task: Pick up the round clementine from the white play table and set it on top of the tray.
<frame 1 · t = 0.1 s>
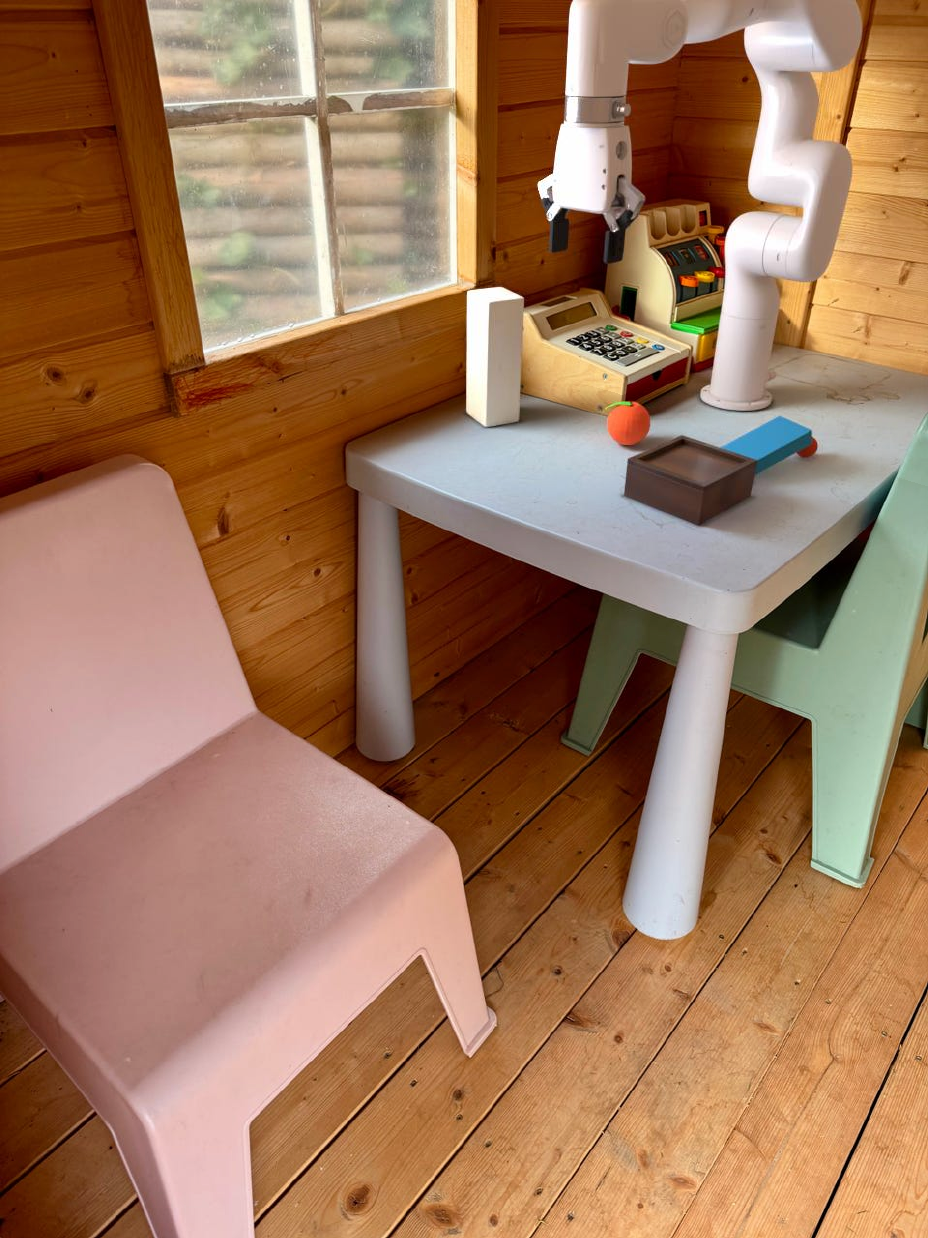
hand: (585, 256, 123), 31 cm above the table, tool pointing down, fingers open, 9 cm apart
tall white pillar block: (494, 418, 159), on the table
lever: (766, 466, 141), on the table
clementine: (623, 444, 149), on the table
tray: (687, 496, 132), on the table
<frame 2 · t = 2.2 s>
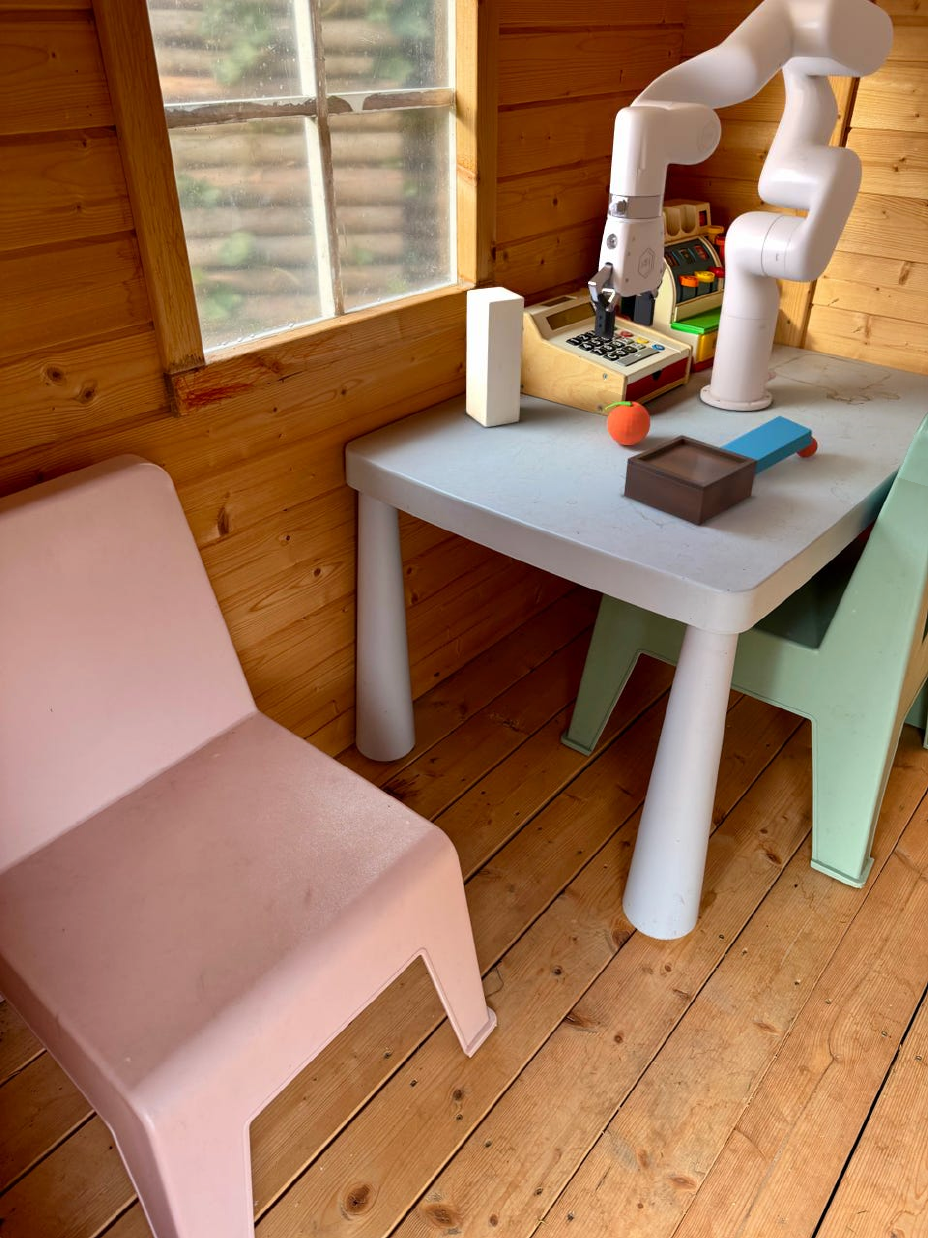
hand: (623, 330, 137), 19 cm above the table, tool pointing down, fingers open, 9 cm apart
nothing on the table moved.
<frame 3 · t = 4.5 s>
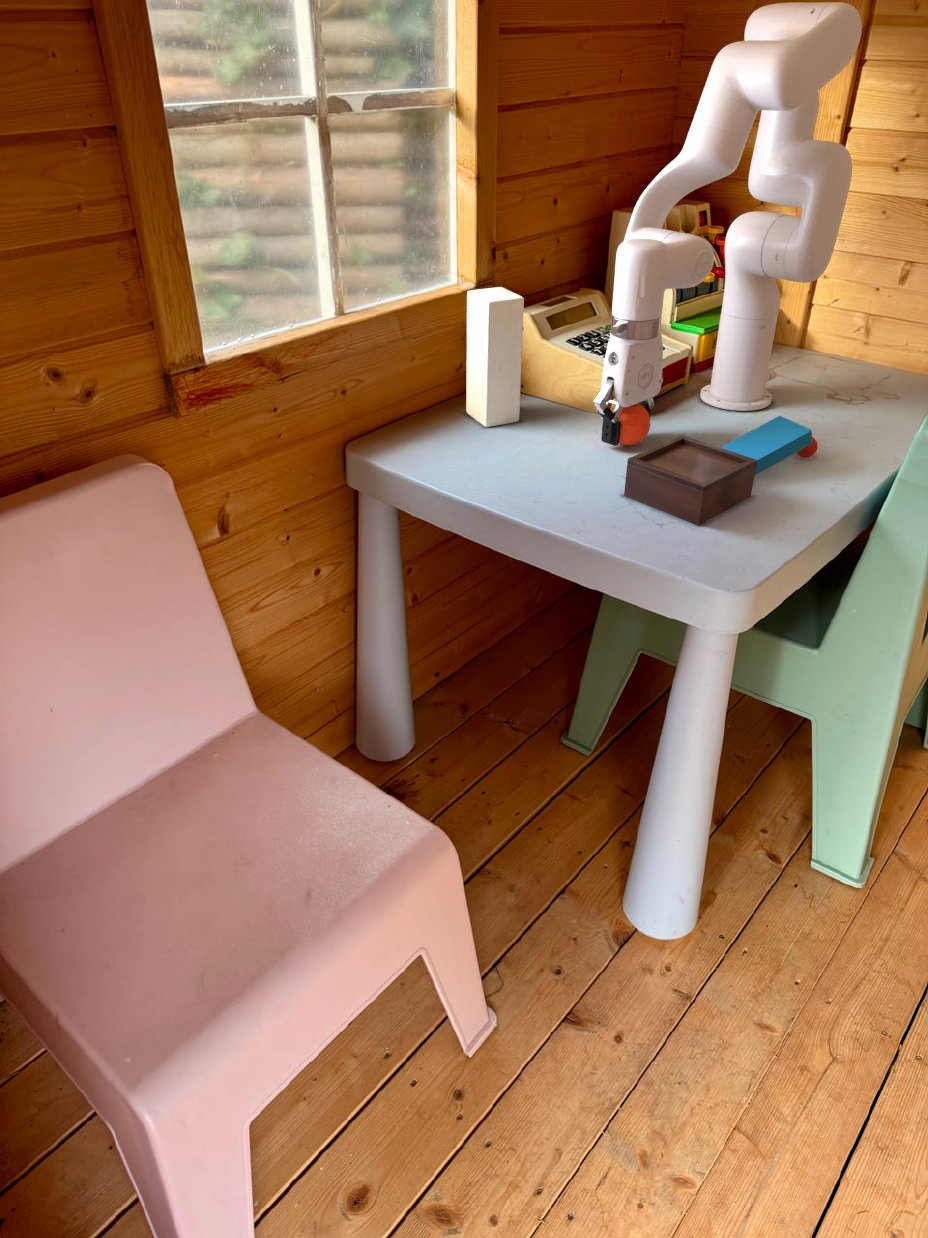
hand: (625, 436, 148), 1 cm above the table, tool pointing down, fingers closed on clementine, 7 cm apart
clementine: (623, 444, 149), on the table, touching gripper
everything else where it was.
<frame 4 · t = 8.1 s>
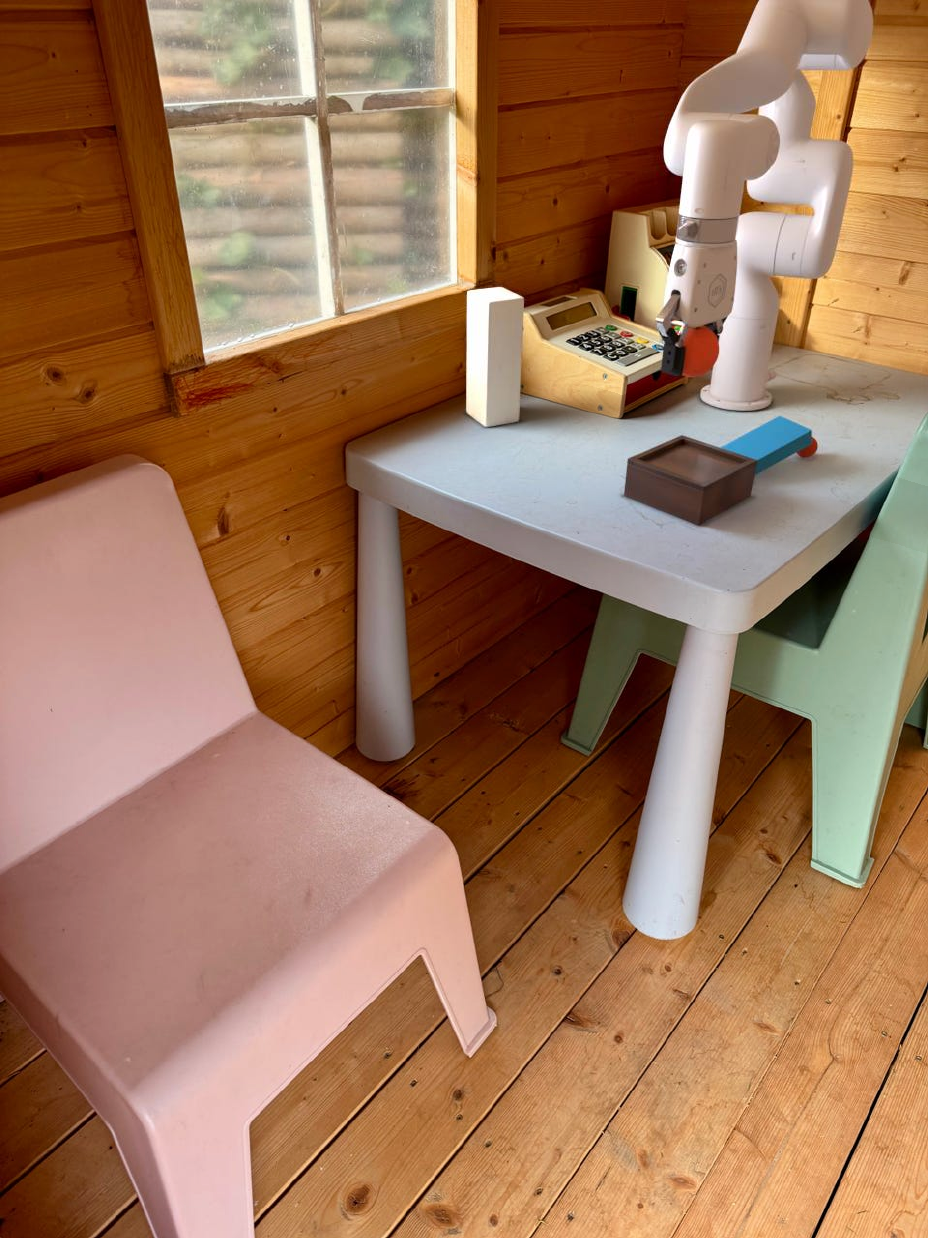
hand: (688, 366, 126), 18 cm above the table, tool pointing down, fingers closed on clementine, 7 cm apart
clementine: (685, 376, 126), point 16 cm above the table, touching gripper
everything else where it was.
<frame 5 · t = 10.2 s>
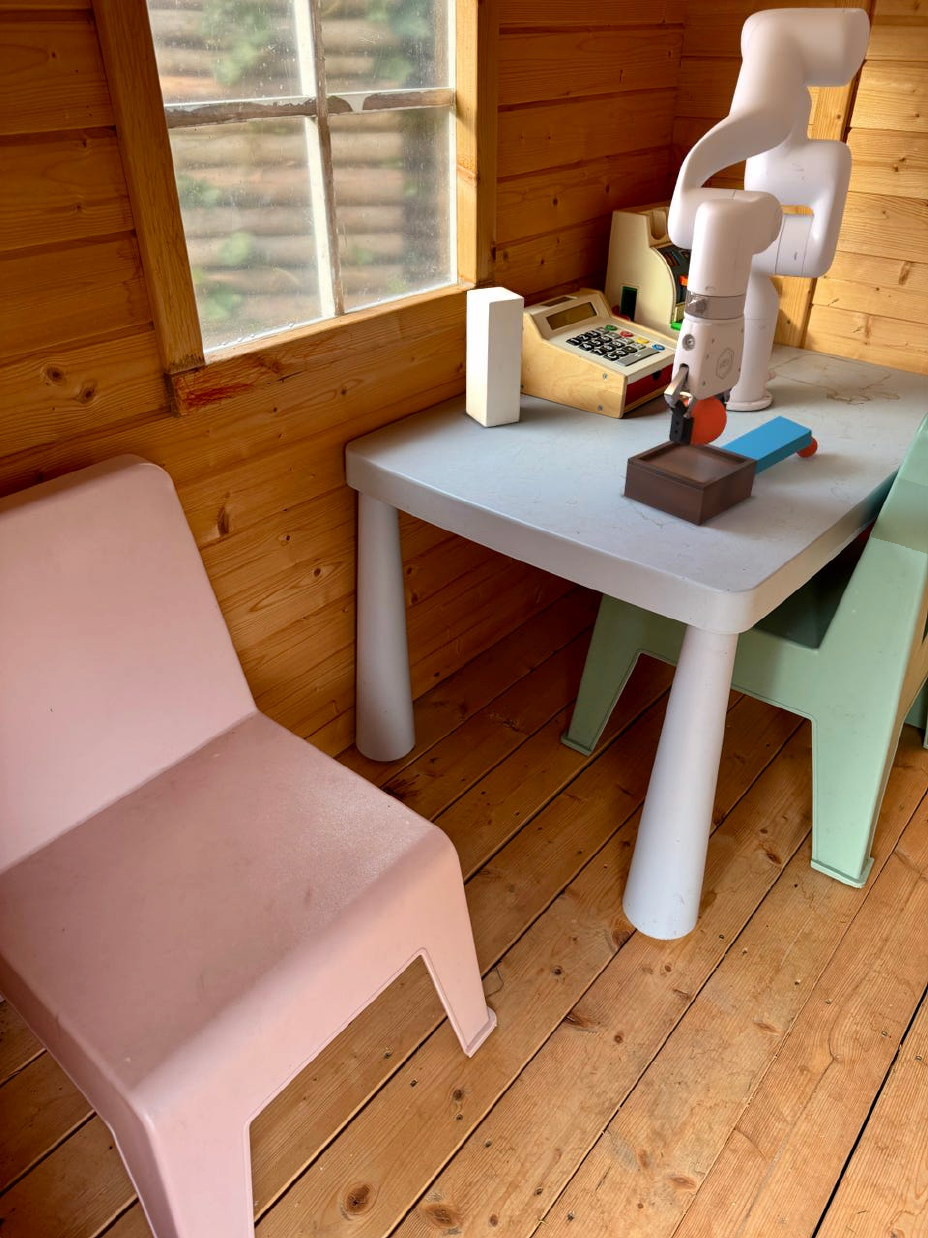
hand: (696, 434, 127), 10 cm above the table, tool pointing down, fingers closed on clementine, 7 cm apart
clementine: (693, 444, 127), point 8 cm above the table, touching gripper
everything else where it was.
when the fingers open (6 cm above the table, at t = 11.7 s): clementine stays where it is, resting on tray.
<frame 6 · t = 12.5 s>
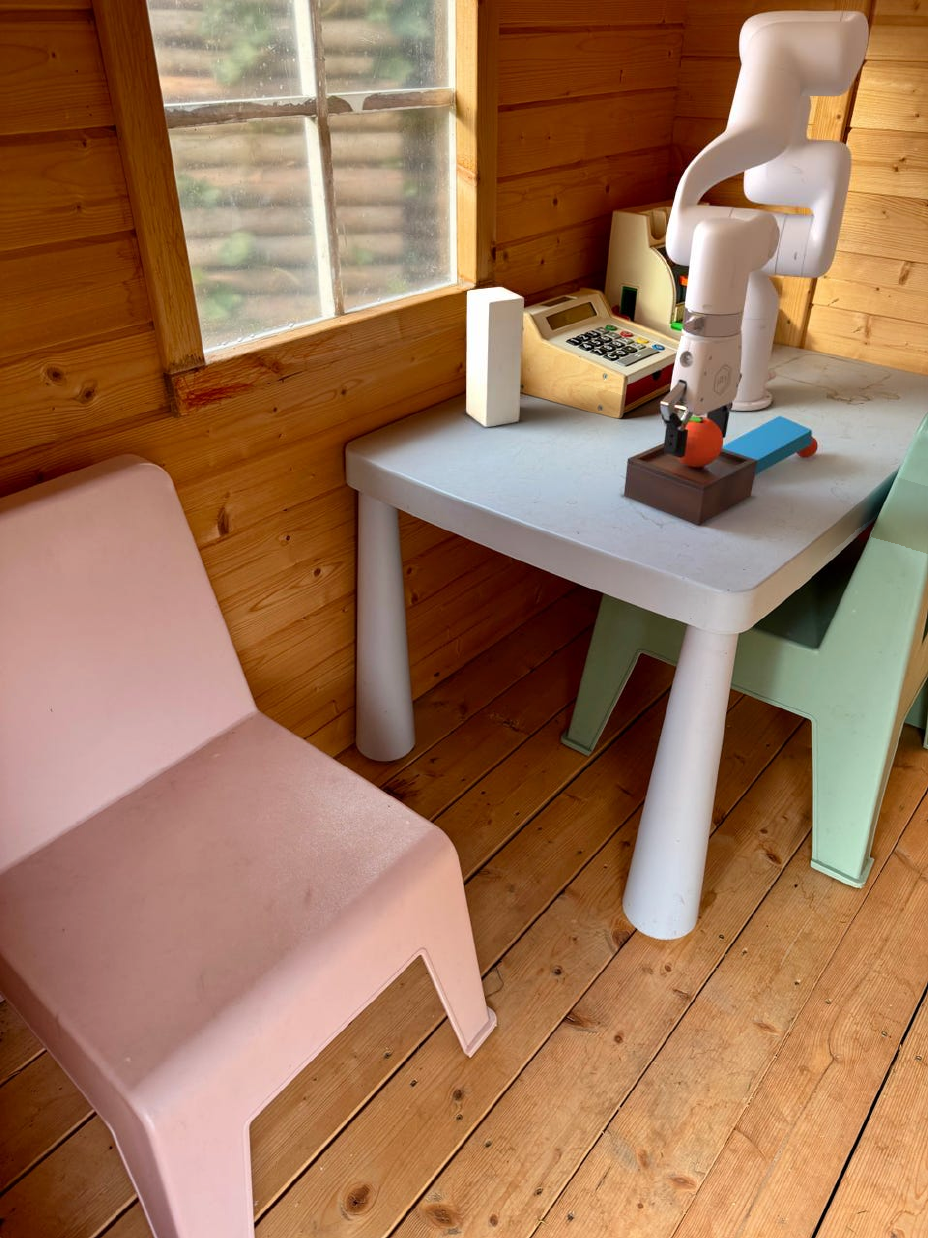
hand: (694, 445, 128), 8 cm above the table, tool pointing down, fingers open, 9 cm apart
clementine: (690, 466, 129), point 5 cm above the table, touching tray
everything else where it was.
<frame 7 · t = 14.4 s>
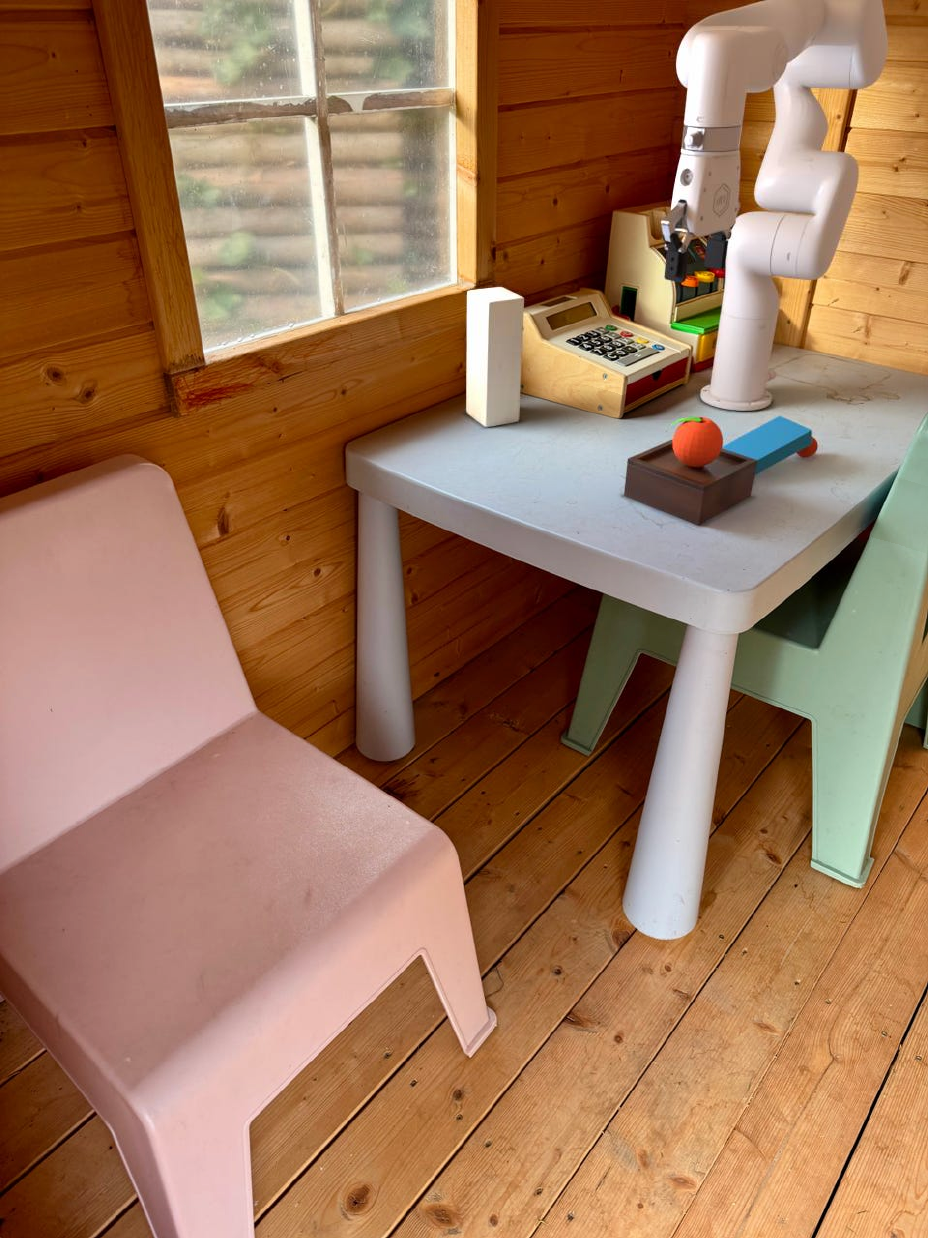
hand: (694, 274, 130), 27 cm above the table, tool pointing down, fingers open, 9 cm apart
nothing on the table moved.
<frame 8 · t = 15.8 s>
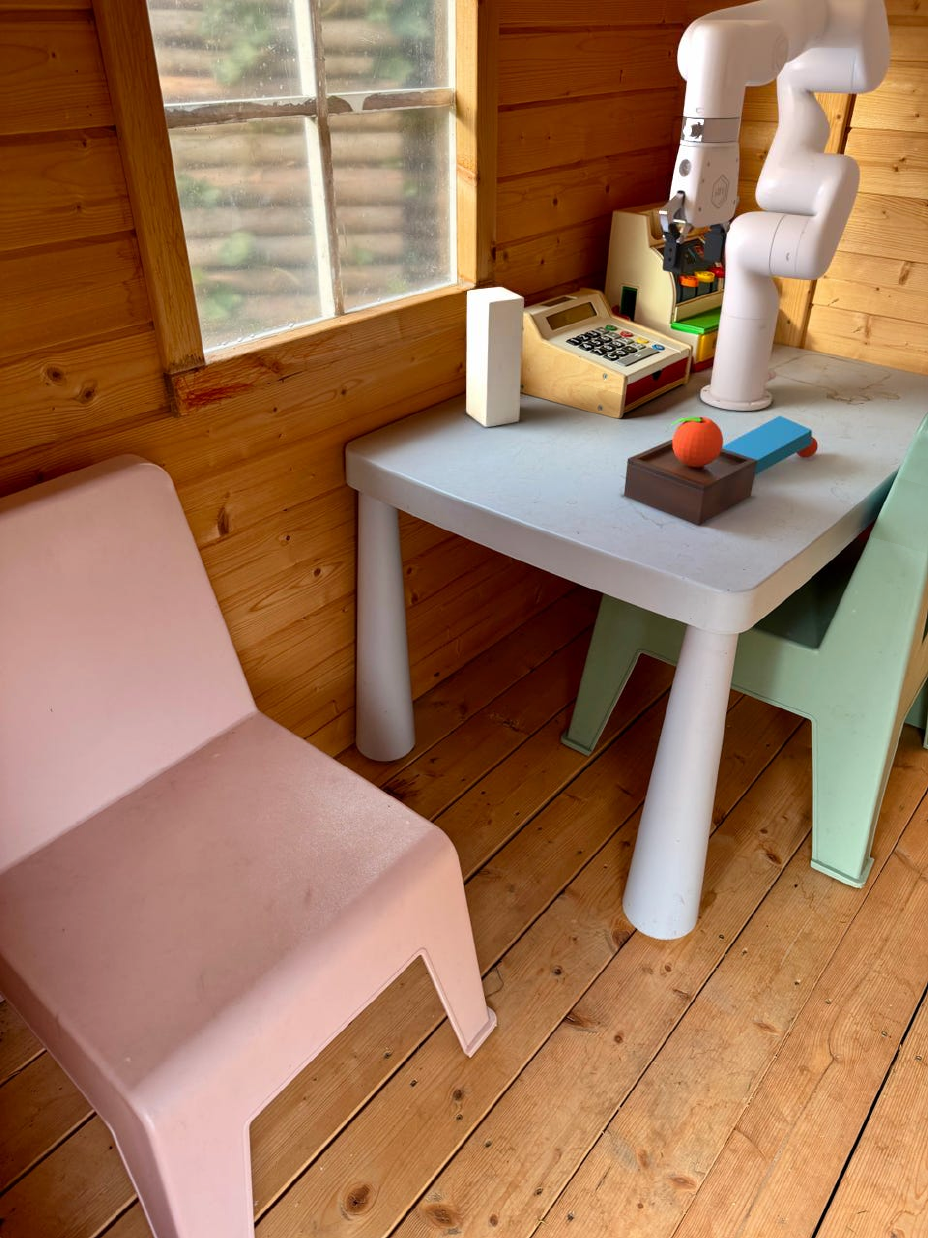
hand: (692, 266, 131), 28 cm above the table, tool pointing down, fingers open, 9 cm apart
nothing on the table moved.
at the end: clementine inside the target area on the tray (0.2 cm from its centre), point 4.8 cm above the tray's base; the gripper is holding nothing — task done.
